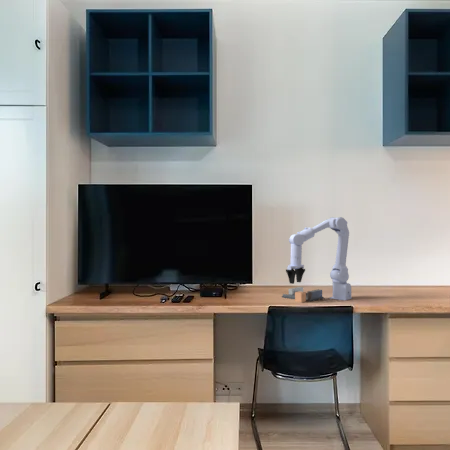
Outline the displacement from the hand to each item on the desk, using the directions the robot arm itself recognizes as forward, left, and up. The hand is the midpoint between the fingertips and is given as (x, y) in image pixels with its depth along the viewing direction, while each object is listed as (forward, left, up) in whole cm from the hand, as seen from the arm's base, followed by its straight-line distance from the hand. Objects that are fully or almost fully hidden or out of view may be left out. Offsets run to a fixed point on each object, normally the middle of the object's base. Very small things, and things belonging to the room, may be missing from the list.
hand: (295, 282), depth 229 cm
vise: (+3, -10, -9) cm, 14 cm away
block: (-3, 0, -10) cm, 10 cm away
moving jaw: (+7, -10, -9) cm, 15 cm away
